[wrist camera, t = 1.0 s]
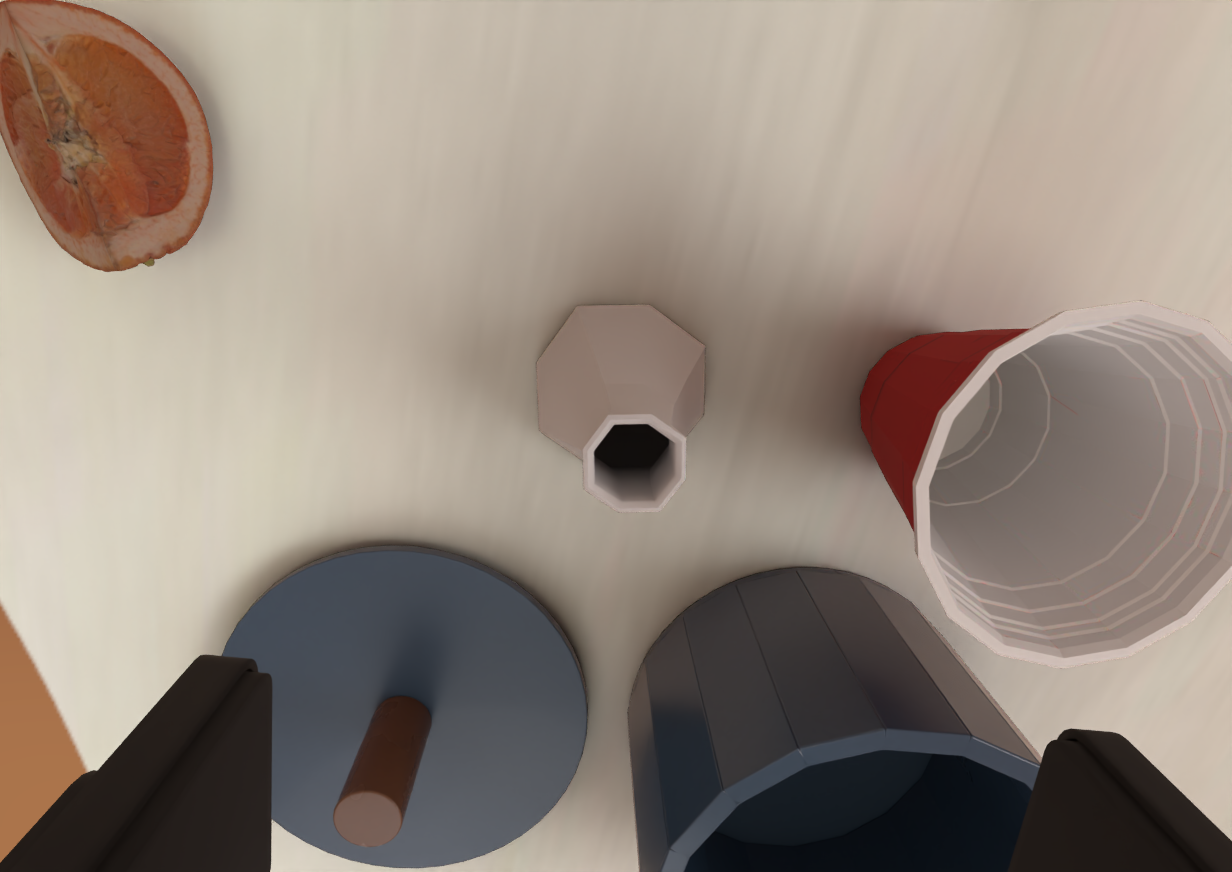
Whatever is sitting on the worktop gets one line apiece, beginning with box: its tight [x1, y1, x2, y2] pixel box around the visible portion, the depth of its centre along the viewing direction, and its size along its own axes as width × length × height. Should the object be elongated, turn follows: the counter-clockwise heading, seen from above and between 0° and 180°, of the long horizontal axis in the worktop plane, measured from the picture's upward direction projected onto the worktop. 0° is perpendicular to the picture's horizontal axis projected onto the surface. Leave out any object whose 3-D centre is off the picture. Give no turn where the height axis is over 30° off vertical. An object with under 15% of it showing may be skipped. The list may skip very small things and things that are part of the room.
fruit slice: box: [0, 0, 213, 272], centre depth 27 cm, size 8×7×5 cm
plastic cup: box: [860, 300, 1232, 669], centre depth 28 cm, size 11×11×12 cm
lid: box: [222, 545, 588, 868], centre depth 33 cm, size 17×17×7 cm
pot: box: [627, 567, 1042, 872], centre depth 32 cm, size 16×16×12 cm
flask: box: [536, 305, 705, 512], centre depth 28 cm, size 7×7×10 cm
